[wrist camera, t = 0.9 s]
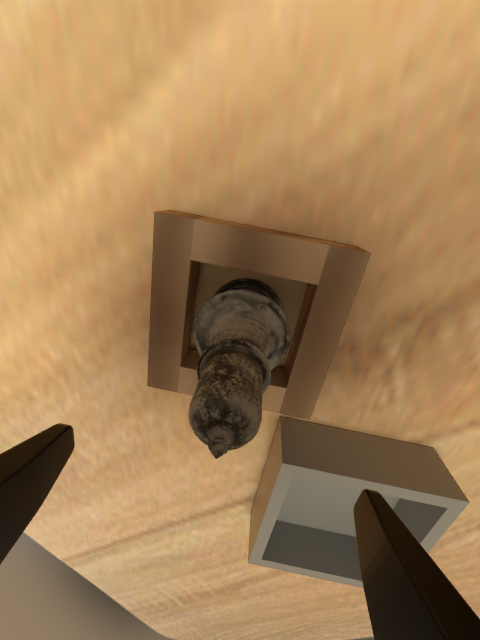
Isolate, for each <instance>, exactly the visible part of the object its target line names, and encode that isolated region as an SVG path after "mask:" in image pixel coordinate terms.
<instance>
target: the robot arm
mask: <svg viewBox="0 0 480 640" xmlns="http://www.w3.org/2000/svg"><path fill="white" fill-rule="evenodd" d="M74 444H75V443H74V434H73V428H72V426H70V425H66V424H61V423H59V424H56V425H53V426H52V427H50V428H48V429H46V430H44V431H42V432H40V433H39V434H37V435H35V436H33V437H31V438H29V439H27V440H26V441H24V442H22V443H20V444H18V445H16V446H14V447H13V448H11V449H9V450H7V451H5V452H3V453H2V454H0V564H1V563H2V561H3V560H4V558H5V557H6V556H7V554H8V553H9V551H10V550H11V548H12V547H13V546H14V544H15V543H16V541H17V540H18V538H19V537H20V536H21V534H22V533H23V531H24V530H25V528H26V527H27V526H28V524H29V523H30V521H31V520H32V518H33V517H34V516H35V514H36V513H37V511H38V510H39V508H40V507H41V505H42V504H43V502H44V500H45V499H46V497H47V495H48V494H49V492H50V490H51V488H52V487H53V485H54V483H55V481H56V480H57V478H58V476H59V475H60V473H61V471H62V469H63V468H64V466H65V464H66V462H67V461H68V459H69V457H70V455H71V454H72V452H73V449H74ZM353 513H354V522H355V530H356V538H357V547H358V555H359V563H360V570H361V577H362V582H363V587H364V592H365V597H366V601H367V606H368V611H369V616H370V620H371V625H372V630H373V635H374V639H375V640H480V619H479V618H478V616H477V615H476V614H475V612H474V611H473V610H472V609H471V607H470V606H469V605H468V604H467V602H466V601H465V600H464V599H463V597H462V596H461V595H460V594H459V592H458V591H457V590H456V588H455V587H454V586H453V585H452V583H451V582H450V581H449V580H448V578H447V577H446V576H445V575H444V573H443V572H442V571H441V570H440V568H439V567H438V566H437V565H436V563H435V562H434V561H433V559H432V558H431V557H430V556H429V554H428V553H427V552H426V551H425V549H424V548H423V547H422V546H421V544H420V543H419V542H418V541H417V539H416V538H415V537H414V536H413V534H412V533H411V532H410V530H409V529H408V528H407V527H406V525H405V524H404V523H403V522H402V520H401V519H400V518H399V517H398V515H397V514H396V513H395V512H394V510H393V509H392V508H391V506H390V505H389V504H388V503H387V501H386V500H385V499H384V498H383V496H382V495H381V494H380V493H379V492H377V491H374V490H369V489H364V490H362V492H361V494H360V496H359V497H358V499H357V501H356V503H355V505H354V510H353Z"/></svg>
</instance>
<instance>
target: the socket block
mask: <svg viewBox="0 0 480 640" xmlns="http://www.w3.org/2000/svg"><path fill="white" fill-rule="evenodd" d="M370 255H371V253H369V252H367V251H365V250H363V249H361V248H359V247H358V246H353V245H348V244H342V243H337V242H332V241H327V240H322V239H316V238H311V237H306V236H301V235H296V234H291V233H285V232H280V231H275V230H270V229H265V228H259V227H254V226H249V225H244V224H239V223H234V222H228V221H223V220H218V219H213V218H208V217H202V216H197V215H192V214H187V213H182V212H177V211H171V210H166V211H156V212H154V236H153V260H152V285H151V309H150V334H149V358H148V383H147V386H149V387H154V388H159V389H164V390H169V391H174V392H179V393H184V394H188V395H194V393H195V390H196V387H197V385H198V382H199V380H198V377H197V363H198V360H199V358H200V356H201V355H200V354H199V352H198V350H193V349H190V341H191V332H192V323H193V314H194V305H195V296H196V287H197V279H198V270H199V262H203V263H208V264H214V265H219V266H224V267H229V268H234V269H239V270H244V271H249V272H254V273H259V274H264V275H270V276H275V277H280V278H285V279H290V280H295V281H300V282H305V283H309V286H308V289H307V293H306V296H305V299H304V303H303V306H302V310H301V313H300V317H299V320H298V324H297V327H296V331H295V334H294V338H293V341H292V344H291V348H290V351H289V355H288V358H287V362H286V365H285V368H282V367H277V366H276V367H274V368H273V369H272V370H271V380H270V384H269V387H268V388H267V390H266V391H265V393H264V394H263V395H262V410H266V411H271V412H276V413H281V414H286V415H291V416H295V417H300V418H305V419H310V417H311V415H312V412H313V409H314V407H315V404H316V401H317V399H318V396H319V393H320V390H321V388H322V385H323V382H324V380H325V377H326V374H327V371H328V369H329V366H330V363H331V361H332V358H333V355H334V352H335V350H336V347H337V344H338V342H339V339H340V336H341V333H342V331H343V328H344V325H345V323H346V320H347V317H348V314H349V312H350V309H351V306H352V304H353V301H354V298H355V296H356V293H357V290H358V287H359V285H360V282H361V279H362V277H363V274H364V271H365V268H366V266H367V263H368V260H369V258H370Z"/></svg>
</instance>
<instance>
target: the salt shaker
mask: <svg viewBox="0 0 480 640" xmlns="http://www.w3.org/2000/svg"><path fill="white" fill-rule="evenodd" d="M193 335H194V342H195V345H196V347H197V350H198V352H199V354H200V355H201V356H200V358H199V360H198V363H197V377H198V380H199V382H198V385H197V387H196V390H195V393H194V395H193V398H192V400H191V403H190V408H189V422H190V425H191V427H192V429H193V431H194V433H195V435H196V436H197V437H198V438H199V439H200V440H201V441H202V442H203V443H205V444H206V445H208V447H209V450H210V451H211V453H212V454H213V455H214V457H215V458H216V459H217V458H219V457H220V456H222V455H223V454H225V453H227V451H228V450H233V449H237V448H240V447H242V446H244V445H245V444H247V443H248V442H249V441H251V440H252V439H253V438H254V437H255V435H256V434H257V432H258V429H259V426H260V423H261V418H262V395H263V394H264V393H265V391H266V390H267V388H268V387H269V384H270V380H271V370H272V369H273V368H274V367H276V366H277V365H278V364H279V363H280V362H281V361H282V359H283V358H284V356H285V355H286V354H287V351H288V348H289V345H290V327H289V323H288V320H287V317H286V316H285V314H284V313H283V309H282V305H281V302H280V299H279V298H278V296H277V295H276V293H275V292H274V291H273V290H272V289H271V288H270V287H269V286H268V285H266V284H264V283H262V282H260V281H257V280H253V279H237V280H234V281H230V282H228V283H227V284H225V285H223V286H222V287H221V288H220V289H219V290H218V291H217V292H216V293H215V295H214V297H213V298H211V299H209V300H208V301H207V302H206V303H205V304H204V305H203V307H202V308H201V309H200V310H199V312H198V314H197V317H196V319H195V322H194V328H193Z"/></svg>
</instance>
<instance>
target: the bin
mask: <svg viewBox="0 0 480 640" xmlns="http://www.w3.org/2000/svg"><path fill="white" fill-rule="evenodd" d="M364 489H369V490H374V491H377V492H379V493H380V494H381V495H382V496H383V498H384V499H385V500H386V501H387V503H388V504H389V505H390V506H391V508H392V509H393V510H394V512H395V513H396V514H397V515H398V517H399V518H400V519H401V520H402V522H403V523H404V524H405V525H406V527H407V528H408V529H409V530H410V532H411V533H412V534H413V536H414V537H415V538H416V539H417V541H418V542H419V543H420V544H421V546H422V547H423V548H424V549H425V551H426V552H427V553H428V552H429V551H430V549H431V548H432V547H433V546H434V545H435V543H436V542H437V541H438V540H439V539H440V537H441V536H442V535H443V534H444V533H445V531H446V530H447V529H448V528H449V527H450V525H451V524H452V523H453V522H454V520H455V519H456V518H457V517H458V516H459V514H460V513H461V512H462V511H463V510H464V508H465V507H466V506H467V505H468V504H469V501H468V499H467V498H466V496H465V495H464V493H463V492H462V490H461V489H460V487H459V486H458V484H457V483H456V481H455V480H454V478H453V477H452V475H451V474H450V472H449V471H448V469H447V468H446V466H445V464H444V463H443V461H442V460H441V458H440V457H439V455H438V454H437V452H436V451H435V449H434V448H431V447H427V446H422V445H417V444H412V443H407V442H402V441H397V440H393V439H388V438H383V437H378V436H373V435H368V434H363V433H359V432H354V431H349V430H344V429H339V428H334V427H329V426H325V425H320V424H315V423H310V422H305V421H300V420H295V419H290V418H286V417H281V416H280V418H279V421H278V425H277V428H276V431H275V434H274V438H273V441H272V444H271V447H270V451H269V454H268V457H267V460H266V464H265V467H264V470H263V473H262V477H261V480H260V483H259V486H258V490H257V493H256V496H255V499H254V503H253V506H252V509H251V520H250V537H249V554H248V563H250V564H254V565H259V566H264V567H268V568H273V569H278V570H282V571H287V572H291V573H296V574H301V575H305V576H310V577H315V578H319V579H324V580H328V581H333V582H338V583H342V584H347V585H352V586H356V587H361V588H364V587H363V582H362V577H361V570H360V563H359V555H358V547H357V538H356V530H355V522H354V513H353V510H354V505H355V503H356V501H357V499H358V497H359V496H360V494H361V492H362V490H364Z"/></svg>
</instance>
